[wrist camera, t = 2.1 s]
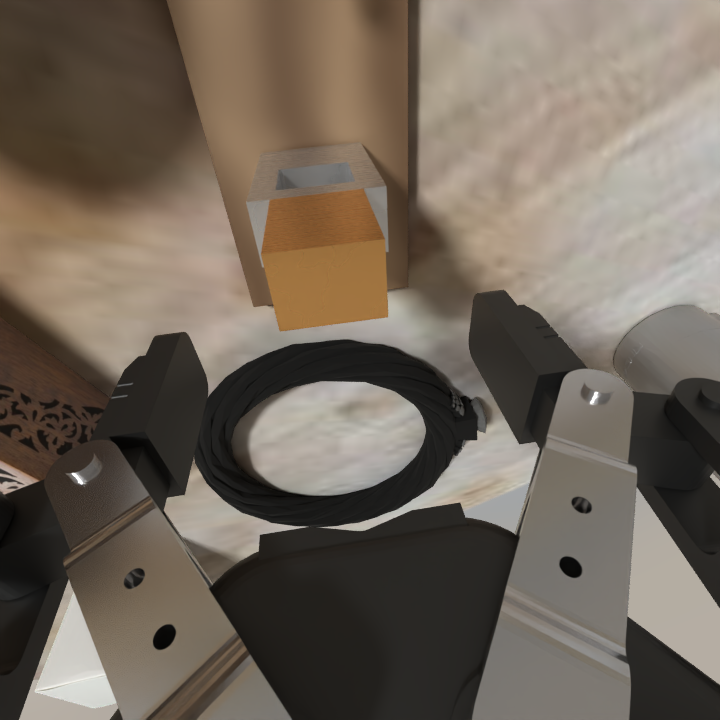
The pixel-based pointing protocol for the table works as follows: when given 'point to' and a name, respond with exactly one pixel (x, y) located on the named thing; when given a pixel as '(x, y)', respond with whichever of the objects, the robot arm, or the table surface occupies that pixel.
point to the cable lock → (333, 363)
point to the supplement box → (75, 665)
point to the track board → (299, 98)
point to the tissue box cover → (39, 410)
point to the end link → (321, 234)
